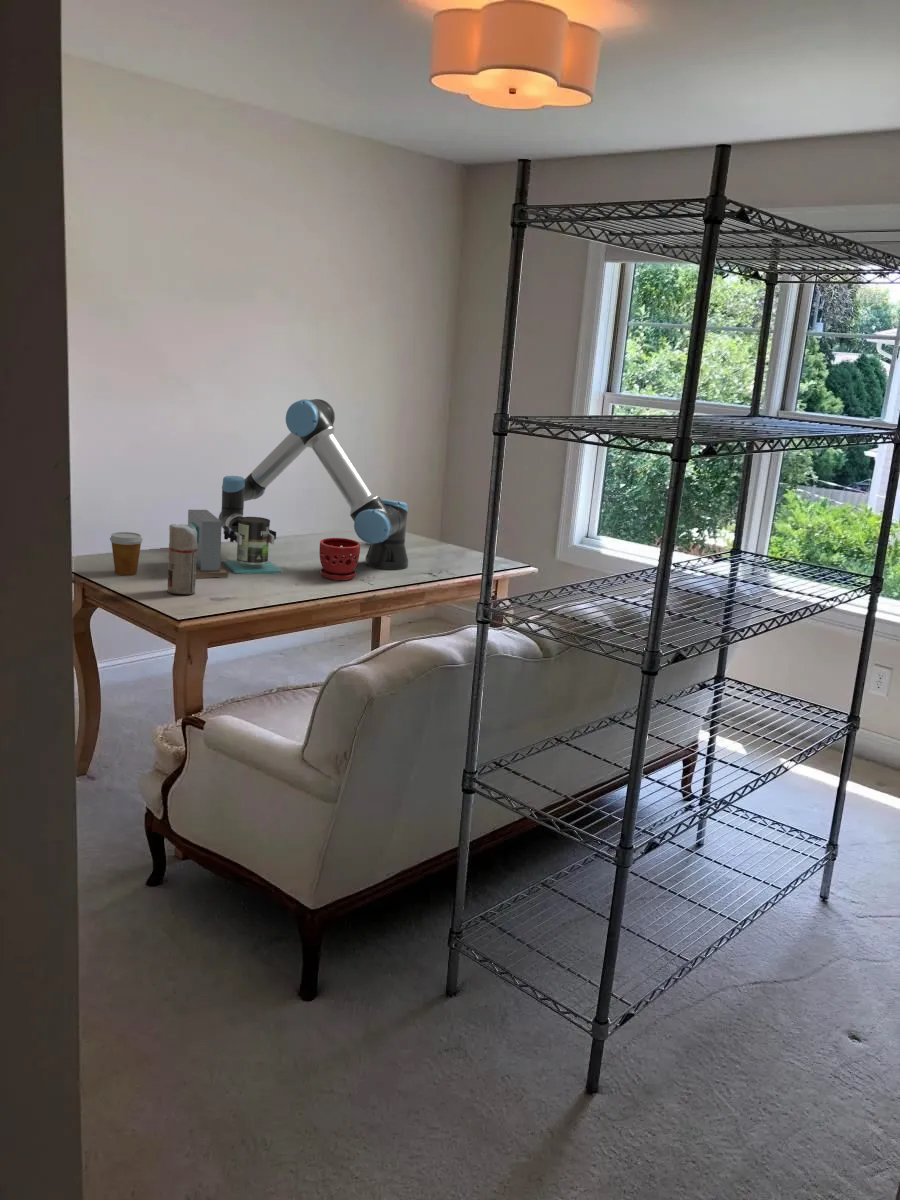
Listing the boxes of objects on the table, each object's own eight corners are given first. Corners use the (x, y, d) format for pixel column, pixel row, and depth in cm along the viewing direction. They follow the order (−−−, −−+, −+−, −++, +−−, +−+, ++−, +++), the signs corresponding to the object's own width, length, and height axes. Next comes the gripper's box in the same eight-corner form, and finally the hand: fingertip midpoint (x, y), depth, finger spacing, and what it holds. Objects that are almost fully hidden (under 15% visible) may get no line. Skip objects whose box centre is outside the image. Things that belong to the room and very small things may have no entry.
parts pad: (280, 573, 321) (281, 570, 321) (235, 574, 315) (235, 571, 315) (267, 562, 334) (268, 560, 334) (223, 563, 328) (223, 560, 327)
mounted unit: (227, 577, 309) (229, 522, 305) (195, 578, 305) (197, 522, 300) (209, 560, 330) (211, 508, 325) (179, 560, 325) (180, 508, 321)
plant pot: (310, 574, 324) (312, 538, 321) (344, 571, 332) (347, 536, 329) (330, 583, 314) (333, 546, 311) (365, 580, 322) (368, 544, 319)
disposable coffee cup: (148, 572, 306) (149, 535, 303) (129, 578, 297) (129, 539, 294) (122, 568, 309) (123, 530, 306) (102, 573, 300) (103, 534, 297)
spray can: (169, 587, 291) (171, 521, 286) (197, 589, 292) (199, 523, 287) (163, 595, 283) (165, 526, 278) (193, 597, 284) (195, 528, 279)
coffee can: (272, 560, 328) (274, 518, 325) (261, 566, 318) (263, 523, 315) (243, 556, 330) (245, 515, 326) (231, 562, 320) (232, 519, 317)
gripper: (270, 537, 343) (290, 551, 324) (205, 537, 333) (221, 552, 314) (271, 516, 342) (291, 529, 322) (206, 515, 331) (222, 528, 312)
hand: (257, 540), depth 318 cm, fingers closed on coffee can, 10 cm apart
